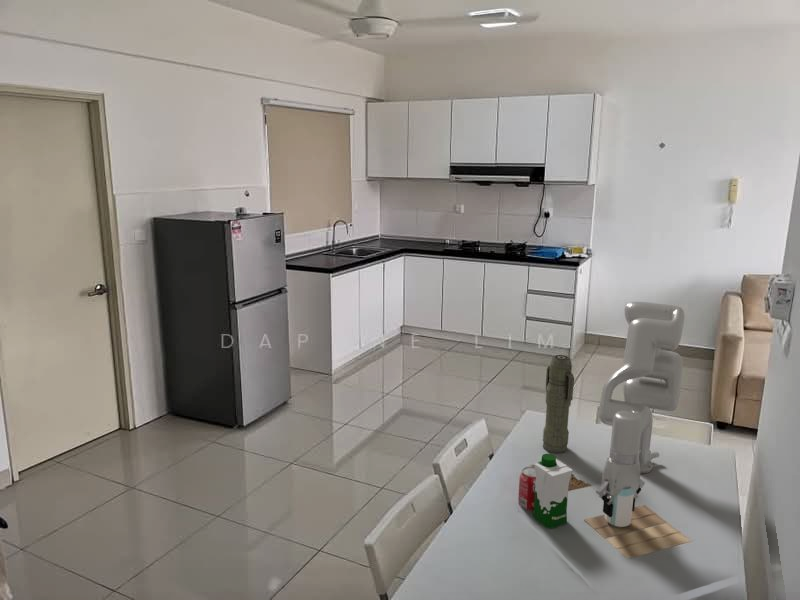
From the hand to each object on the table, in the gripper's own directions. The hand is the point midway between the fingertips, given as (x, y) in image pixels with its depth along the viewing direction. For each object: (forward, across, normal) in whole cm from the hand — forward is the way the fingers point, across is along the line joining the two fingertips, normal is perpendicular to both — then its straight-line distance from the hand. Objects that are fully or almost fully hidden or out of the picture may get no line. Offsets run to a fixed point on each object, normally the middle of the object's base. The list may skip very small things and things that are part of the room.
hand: (618, 511), depth 174 cm
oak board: (+5, -3, +9) cm, 11 cm away
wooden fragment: (+6, -1, -27) cm, 28 cm away
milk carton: (+5, +17, -8) cm, 20 cm away
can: (+3, 0, 0) cm, 3 cm away
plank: (+5, -3, 0) cm, 6 cm away
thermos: (+5, -12, -47) cm, 49 cm away
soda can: (+5, +18, -17) cm, 26 cm away
